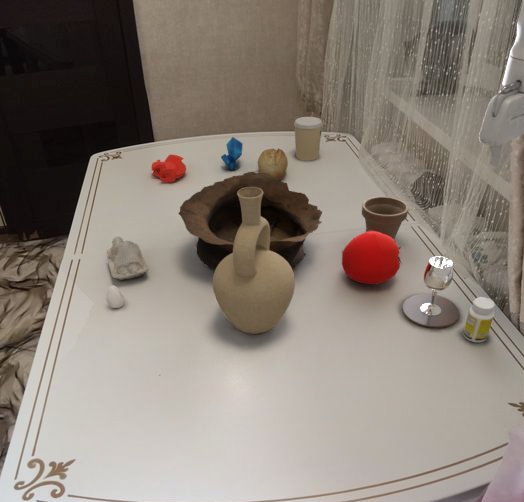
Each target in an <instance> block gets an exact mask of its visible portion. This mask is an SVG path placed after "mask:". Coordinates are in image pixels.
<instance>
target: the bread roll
mask: <svg viewBox="0 0 524 502" xmlns="http://www.w3.org/2000/svg"><path fill="white" fill-rule="evenodd" d="M288 165H289V161H288V157H287V155H286V153H285V152H284V151H283V150H282V149H280V148H277V149H275V148H268V149H264V150H263V151H262V152H261V153H260V155H259V157H258V158H257V167H258V173H269V174H270V175H271V176H272V177H274V178H276V179H277V180H279V181H281V180H282V179H283V177H284V176H285V174H286V173H287V169H288Z"/></svg>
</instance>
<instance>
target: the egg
mask: <svg viewBox="0 0 524 502" xmlns="http://www.w3.org/2000/svg"><path fill="white" fill-rule="evenodd" d="M105 299H106V304H107V305H108V306H109V307H110V308H113V309H119V308H121V307H123V306H124V304H125V302H126V300H125V296H124V294H123V293H122V290H121V289H119V288H118V287H117V286H116V285H114V284H113V285H111V286H109V288H108V289H107V292H106V295H105Z"/></svg>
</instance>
